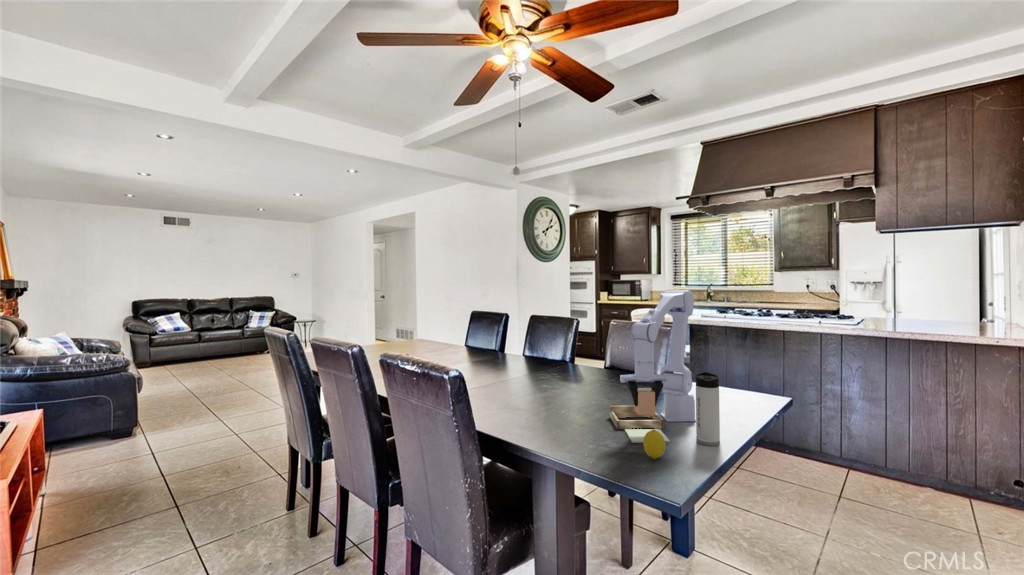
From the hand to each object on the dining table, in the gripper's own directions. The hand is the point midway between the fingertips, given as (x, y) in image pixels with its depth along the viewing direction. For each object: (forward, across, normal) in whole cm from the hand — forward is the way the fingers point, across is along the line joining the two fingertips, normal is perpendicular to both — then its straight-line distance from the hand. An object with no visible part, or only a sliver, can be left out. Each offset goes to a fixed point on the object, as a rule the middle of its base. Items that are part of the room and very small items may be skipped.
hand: (644, 405), depth 134 cm
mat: (+9, 0, -1) cm, 9 cm away
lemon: (+10, -2, -18) cm, 21 cm away
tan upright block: (+2, 0, 0) cm, 2 cm away
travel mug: (+9, +17, -6) cm, 20 cm away
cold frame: (+9, 0, +12) cm, 15 cm away
